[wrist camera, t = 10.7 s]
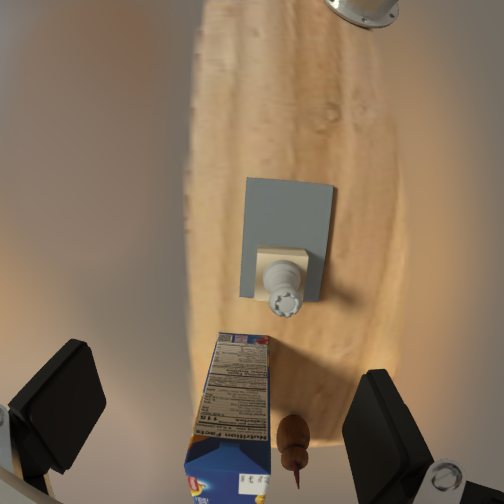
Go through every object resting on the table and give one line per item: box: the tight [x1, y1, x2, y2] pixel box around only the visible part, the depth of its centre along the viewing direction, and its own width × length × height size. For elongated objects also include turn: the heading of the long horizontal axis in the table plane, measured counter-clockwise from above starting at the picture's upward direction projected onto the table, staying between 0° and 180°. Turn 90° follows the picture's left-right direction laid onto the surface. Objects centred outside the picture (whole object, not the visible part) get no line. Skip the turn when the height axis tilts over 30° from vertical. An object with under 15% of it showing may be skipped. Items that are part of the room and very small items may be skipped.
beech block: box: [254, 245, 309, 301], centre depth 36 cm, size 6×6×4 cm
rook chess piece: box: [263, 260, 303, 318], centre depth 30 cm, size 4×4×8 cm
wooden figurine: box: [276, 415, 310, 489], centre depth 40 cm, size 7×6×15 cm
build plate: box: [239, 177, 333, 302], centre depth 37 cm, size 16×11×1 cm
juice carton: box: [184, 332, 271, 504], centre depth 32 cm, size 12×8×24 cm, turn 177°
